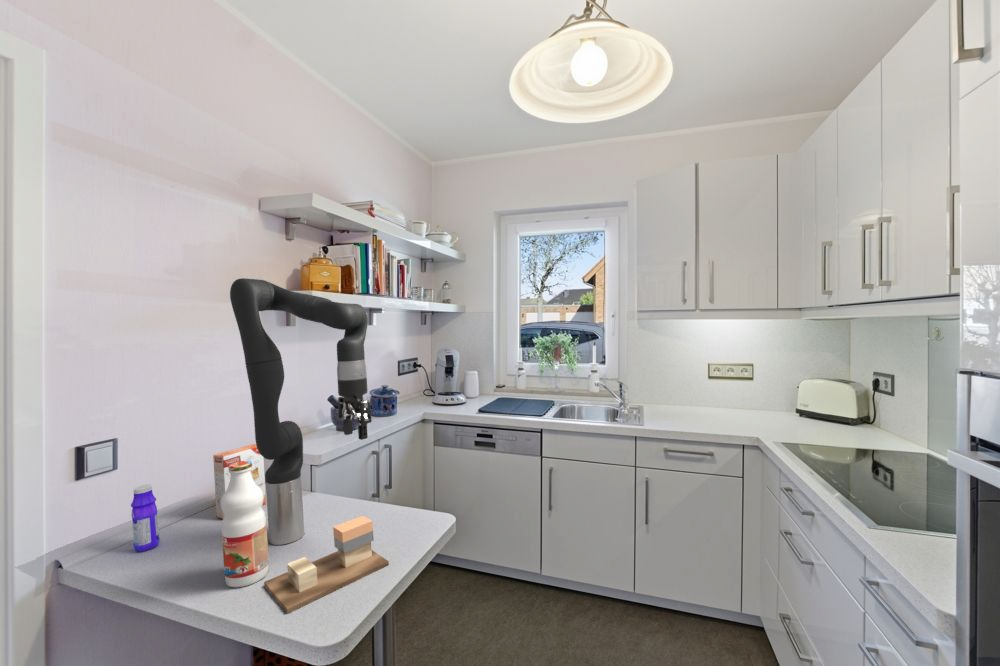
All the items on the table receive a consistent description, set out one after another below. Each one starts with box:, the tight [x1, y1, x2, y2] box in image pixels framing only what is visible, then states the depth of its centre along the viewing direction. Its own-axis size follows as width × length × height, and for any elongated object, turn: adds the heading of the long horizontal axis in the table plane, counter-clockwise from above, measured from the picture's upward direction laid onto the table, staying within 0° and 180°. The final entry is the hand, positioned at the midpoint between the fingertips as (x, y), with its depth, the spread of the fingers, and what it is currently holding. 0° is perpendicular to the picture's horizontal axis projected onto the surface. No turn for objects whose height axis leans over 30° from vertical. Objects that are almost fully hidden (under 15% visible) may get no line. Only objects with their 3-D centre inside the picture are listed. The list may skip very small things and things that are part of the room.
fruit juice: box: [221, 461, 270, 588], centre depth 107 cm, size 9×9×28 cm
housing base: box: [333, 530, 375, 553], centre depth 111 cm, size 8×5×2 cm, turn 135°
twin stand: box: [263, 541, 390, 614], centre depth 106 cm, size 15×24×5 cm, turn 135°
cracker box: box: [212, 443, 267, 520], centre depth 148 cm, size 14×6×21 cm, turn 153°
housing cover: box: [332, 515, 374, 543], centre depth 111 cm, size 8×5×2 cm, turn 135°
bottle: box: [130, 484, 160, 553], centre depth 125 cm, size 7×6×17 cm
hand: (355, 436), depth 119 cm, fingers open, 8 cm apart
